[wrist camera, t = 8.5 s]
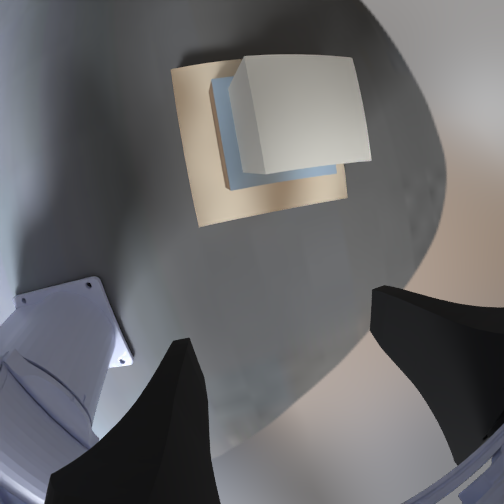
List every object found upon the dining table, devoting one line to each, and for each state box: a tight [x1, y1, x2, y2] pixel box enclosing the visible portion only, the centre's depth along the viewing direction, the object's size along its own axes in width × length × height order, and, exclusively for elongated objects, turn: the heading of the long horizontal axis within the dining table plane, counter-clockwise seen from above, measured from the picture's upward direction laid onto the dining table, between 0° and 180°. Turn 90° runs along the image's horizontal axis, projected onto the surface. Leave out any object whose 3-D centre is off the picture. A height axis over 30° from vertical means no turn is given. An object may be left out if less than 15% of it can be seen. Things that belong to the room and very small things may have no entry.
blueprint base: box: [171, 59, 347, 227], centre depth 15 cm, size 10×10×4 cm
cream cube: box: [228, 54, 371, 174], centre depth 11 cm, size 4×4×4 cm
